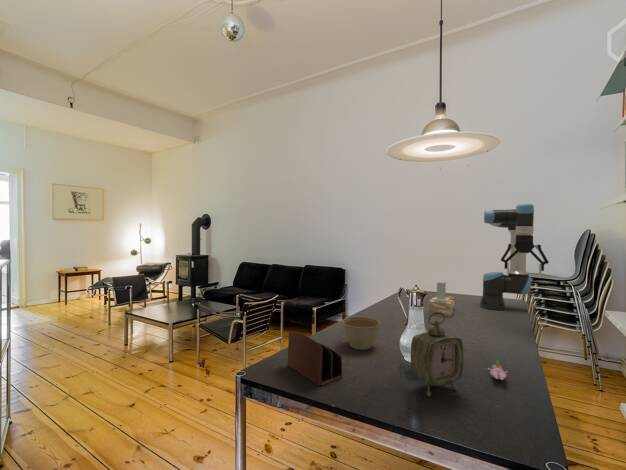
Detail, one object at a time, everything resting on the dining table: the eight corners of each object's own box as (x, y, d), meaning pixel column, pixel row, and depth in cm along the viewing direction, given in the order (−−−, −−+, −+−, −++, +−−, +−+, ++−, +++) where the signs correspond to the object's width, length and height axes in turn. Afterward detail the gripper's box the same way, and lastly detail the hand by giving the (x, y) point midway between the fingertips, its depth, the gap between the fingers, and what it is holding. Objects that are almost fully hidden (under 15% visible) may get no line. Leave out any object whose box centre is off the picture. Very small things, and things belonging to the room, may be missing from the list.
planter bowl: (334, 346, 140) (334, 321, 139) (356, 337, 151) (356, 314, 151) (365, 356, 129) (366, 329, 128) (386, 346, 140) (386, 321, 140)
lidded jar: (438, 310, 203) (438, 295, 203) (435, 306, 213) (435, 292, 213) (456, 311, 201) (456, 296, 201) (452, 307, 212) (452, 293, 211)
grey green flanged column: (435, 303, 201) (435, 280, 200) (448, 304, 197) (449, 282, 196) (433, 305, 194) (433, 282, 193) (447, 307, 190) (447, 283, 189)
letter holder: (320, 387, 104) (320, 344, 104) (287, 366, 120) (287, 328, 119) (342, 378, 110) (343, 337, 110) (308, 359, 126) (308, 324, 125)
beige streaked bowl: (432, 310, 203) (432, 297, 203) (452, 312, 198) (452, 299, 197) (429, 314, 193) (429, 301, 193) (450, 317, 187) (450, 303, 187)
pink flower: (487, 372, 118) (488, 382, 105) (487, 355, 119) (488, 363, 106) (506, 375, 116) (510, 386, 102) (506, 358, 116) (510, 367, 103)
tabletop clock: (427, 400, 96) (428, 317, 95) (407, 386, 104) (408, 310, 104) (462, 391, 101) (464, 313, 101) (441, 378, 110) (442, 306, 109)
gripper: (495, 234, 165) (495, 275, 165) (556, 235, 152) (555, 279, 153) (496, 234, 171) (495, 273, 172) (553, 234, 159) (552, 277, 159)
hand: (523, 276), depth 162 cm, fingers open, 13 cm apart
